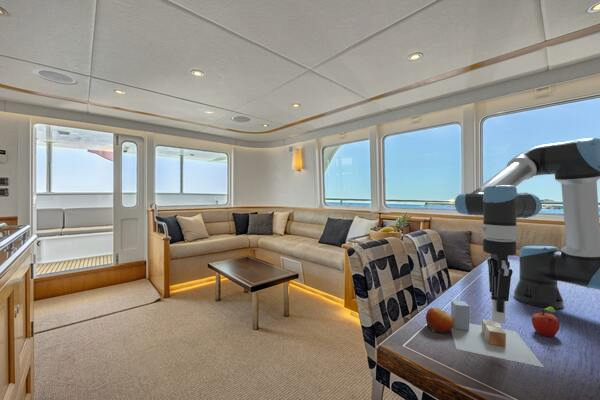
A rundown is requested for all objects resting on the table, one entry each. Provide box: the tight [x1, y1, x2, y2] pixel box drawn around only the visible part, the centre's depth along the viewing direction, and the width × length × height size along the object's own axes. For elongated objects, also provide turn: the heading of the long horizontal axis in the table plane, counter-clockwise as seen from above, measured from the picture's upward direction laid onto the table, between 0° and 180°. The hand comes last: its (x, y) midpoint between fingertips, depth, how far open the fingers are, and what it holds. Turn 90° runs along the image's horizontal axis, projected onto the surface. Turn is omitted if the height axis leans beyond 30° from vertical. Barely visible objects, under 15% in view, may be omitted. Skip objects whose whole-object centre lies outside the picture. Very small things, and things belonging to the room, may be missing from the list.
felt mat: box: [450, 322, 545, 368], centre depth 76 cm, size 19×19×1 cm
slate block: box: [450, 299, 470, 331], centre depth 83 cm, size 4×4×8 cm
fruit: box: [425, 307, 454, 334], centre depth 82 cm, size 8×8×8 cm
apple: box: [531, 307, 561, 338], centre depth 79 cm, size 8×7×10 cm
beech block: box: [481, 318, 506, 348], centre depth 76 cm, size 4×4×8 cm
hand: (498, 321), depth 73 cm, fingers closed
